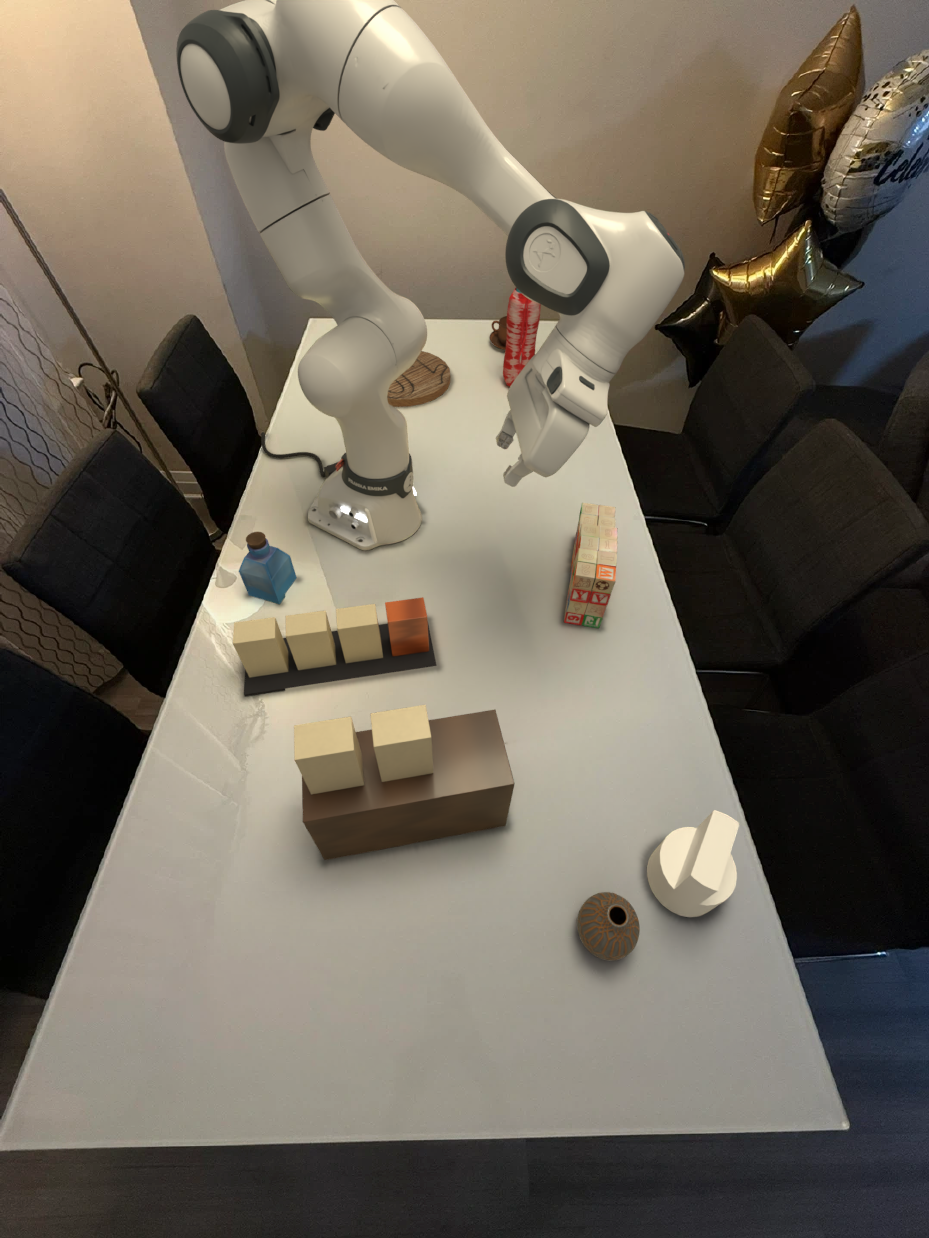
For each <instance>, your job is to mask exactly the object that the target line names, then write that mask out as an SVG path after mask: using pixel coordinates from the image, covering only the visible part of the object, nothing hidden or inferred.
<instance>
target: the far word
mask: <svg viewBox="0 0 929 1238" xmlns="http://www.w3.org/2000/svg"><path fill="white" fill-rule="evenodd" d="M335 617H336V630H332V629H331V625H330V621H329V617H328V613H327V610H318V611H317V610H316V611H312V612H311V611H310V612H304V613H295V614H289V615H285V637H283V634H282V631H281V629H280V626H279V623H278V621H277V618H276V617H275V616H272V617H265V618H259V619H250V620H242V621H235V622H233V632H232V646H233V647H234V649H235V651H236V654H237V656H238V658H239V660H240V662H241V664H242V665H243V668H244V681H243V682H244V683H243V696H244V697H251V696H257V695H264V694H271V693H278V692H283V691H286V689H291V688H299V687H305V686H311V685H318V684H326V683H331V682H338V681H344V680H345V681H346V680H352V679H357V678H358V679H359V678H364V677H365V678H366V677H372V676H378V675H384V674H392V673H399V672H405V671H411V670H418V669H425V668H432V667H437V662H436V661H437V660H436V656H435V651H434V646H433V641H432V636H431V631H430V625H429V624H428V640H429V651H427V652H420V653H413V654H407V655H400V656H392V650H391V643H390V635H389V628H388V623H382V624H379V620H378V613H377V606H376V603H371V604H363V605H356V606H348V607H341V608H340V607H339V608H335Z"/></svg>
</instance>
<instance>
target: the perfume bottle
mask: <svg viewBox="0 0 929 1238" xmlns="http://www.w3.org/2000/svg"><path fill="white" fill-rule="evenodd" d="M245 542H246V548H247V550H248V552H247V553H246V555H245V556H244V557H243V559H242V560H241V561H242V562H241V563H240V566H239V569H238V574H239V575H240V578H241V580H242V583H243V585H244V588H245V590H246V592H247V595H248V596H249V597H253V598H256V599H260V600H263V601H266V602H269V603H273V604H277V605H281V604H282V602H283V601H284V599H285V598H286V594H287V592H288V591H289V590H290V589H291V587H292V586H293V584H294V582H295V581H296V580H297V579H298V577H297V574H296V570H295V567H294V564H293V561H292V557H291V555H290V554H288V553H287V552H285V551H284V550H283V549H280V548H278V547H275V546H272V545H270V542H269V540H268V538H267V536H266V534H265V533H264V532H262V531H252V532H250V533H248V535H247V536H246V537H245Z"/></svg>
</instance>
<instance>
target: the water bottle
mask: <svg viewBox="0 0 929 1238" xmlns="http://www.w3.org/2000/svg"><path fill="white" fill-rule="evenodd" d="M541 307H542V305H541V304H539V303H536V302H533V301H531V300H530V299H528V298H526V297H525V296H524V295H523V294H522V293H521V292H520V291H519V290H518V289H517V288H516V287H514V289H513V291H511V294H510V295H509V298H508V302H507V311H506V316H507V339H506V341H505V342H504V344H505V345H506V349H505V350H504V357H503V364H502V375H503V380H504V382H505V384H506V386H508V387H510V386H511V385H512V383H513V382H514V380H515V379H516V378H517V376H518V375H519V373H520V372H521V371H522V369H523V368H524V367H525V365H526V364H527V363H528V362H529V360H530V359H531V358H532V357H533V356H534V355H535V354H536V344H537V335H538V330H539V326H540V319H541V310H542V309H541Z"/></svg>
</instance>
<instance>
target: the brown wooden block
mask: <svg viewBox="0 0 929 1238" xmlns="http://www.w3.org/2000/svg"><path fill="white" fill-rule="evenodd" d="M369 715H370V716H369V717H370V722H371V723H370V724H371V725H370V727H371V729H366V730H360V731H356V728H355V725H354V721H353V718H352V716H351V715H350V716H344V717H338V718H333V719H326V720H320V721H319V720H318V721H312V722H306V723H301V724H294V725H293V751H294V752H293V753H294V755H293V756H294V757H293V759H294V762H295V764H296V767H297V768H298V770H299V773H300V775H301V799H302V800H301V801H302V803H301V805H302V823H303V825H304V827H305V828H306V830H307V832H308V834H309V835H310V838H311V839H312V841H313V842H314V844H315V846H316V848H317V850H318V851H319V853H320V855H321V857H322V858H323V860H324V861H328V860H335V859H339V858H345V857H349V856H355V855H360V854H366V853H370V852H376V851H381V850H386V849H387V850H388V849H392V848H396V847H397V848H398V847H403V846H408V845H412V844H418V843H423V842H424V843H425V842H429V841H434V840H440V839H444V838H450V837H454V836H455V837H456V836H460V835H467V834H471V833H477V832H481V831H487V830H492V829H497V828H502V827H503V828H504V827H506V826H507V822H508V817H509V813H510V809H511V808H510V807H511V803H512V797H513V795H514V788H515V779H514V776H513V771H512V768H511V765H510V760H509V756H508V753H507V749H506V745H505V741H504V737H503V734H502V730H501V726H500V722H499V718H498V717H499V716H498V713H497V710H496V709H488V710H484V711H483V710H482V711H477V712H471V713H465V714H458V715H453V716H452V715H451V716H447V717H439V718H434V719H429V715H428V709H427V705H426V704H419V705H413V706H408V707H402V708H396V709H395V708H394V709H389V710H381V711H377V712H371V713H370V714H369Z"/></svg>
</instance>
